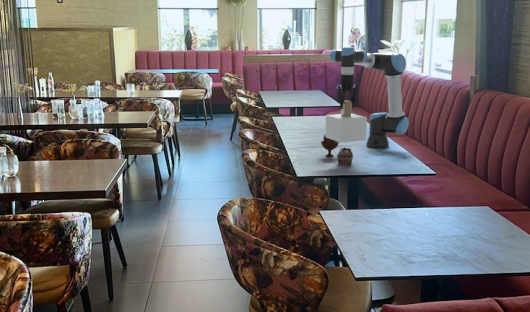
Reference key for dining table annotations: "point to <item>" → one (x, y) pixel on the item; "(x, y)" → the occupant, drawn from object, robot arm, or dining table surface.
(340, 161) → the cupcake
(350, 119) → the white box with knob
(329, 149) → the ice cream bowl
